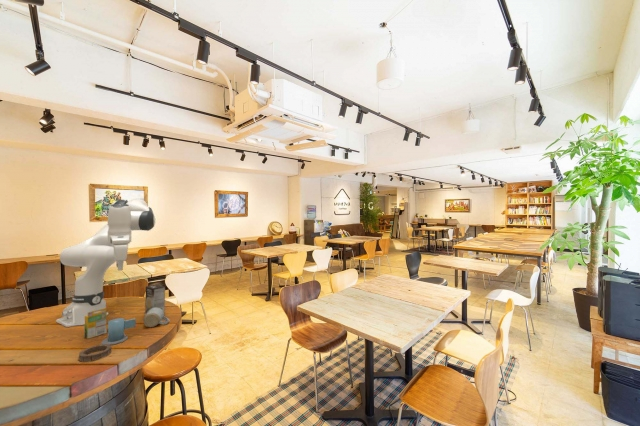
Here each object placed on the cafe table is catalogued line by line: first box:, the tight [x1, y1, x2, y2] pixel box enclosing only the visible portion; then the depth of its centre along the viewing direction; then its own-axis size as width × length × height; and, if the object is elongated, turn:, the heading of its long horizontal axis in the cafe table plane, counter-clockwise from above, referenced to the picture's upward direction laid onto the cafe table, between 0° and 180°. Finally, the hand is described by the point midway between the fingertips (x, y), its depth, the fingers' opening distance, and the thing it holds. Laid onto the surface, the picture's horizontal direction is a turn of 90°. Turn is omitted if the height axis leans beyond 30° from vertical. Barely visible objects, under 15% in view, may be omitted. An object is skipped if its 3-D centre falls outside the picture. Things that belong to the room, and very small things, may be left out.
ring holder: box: [78, 344, 112, 363], centre depth 102 cm, size 9×9×2 cm
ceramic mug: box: [143, 307, 170, 328], centre depth 132 cm, size 11×8×8 cm
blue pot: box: [107, 317, 137, 342], centre depth 116 cm, size 10×6×8 cm, turn 131°
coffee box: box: [144, 283, 166, 317], centre depth 145 cm, size 9×6×16 cm
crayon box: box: [84, 307, 108, 340], centre depth 120 cm, size 7×3×12 cm, turn 152°
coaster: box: [100, 334, 129, 346], centre depth 114 cm, size 9×9×1 cm
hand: (119, 268), depth 122 cm, fingers open, 8 cm apart
